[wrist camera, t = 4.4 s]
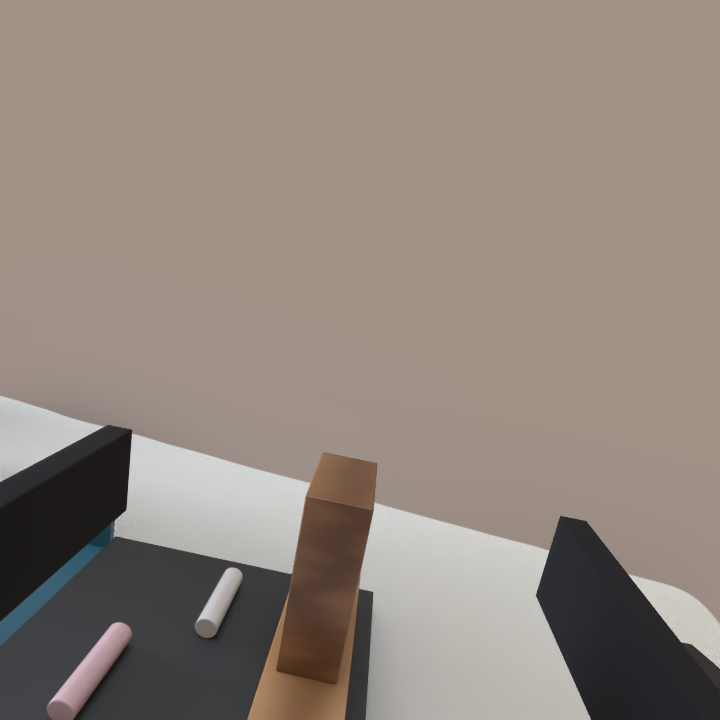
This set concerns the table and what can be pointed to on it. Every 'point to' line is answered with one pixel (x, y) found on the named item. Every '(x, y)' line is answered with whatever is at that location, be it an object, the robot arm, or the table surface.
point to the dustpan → (53, 584)
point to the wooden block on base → (321, 598)
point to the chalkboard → (159, 639)
